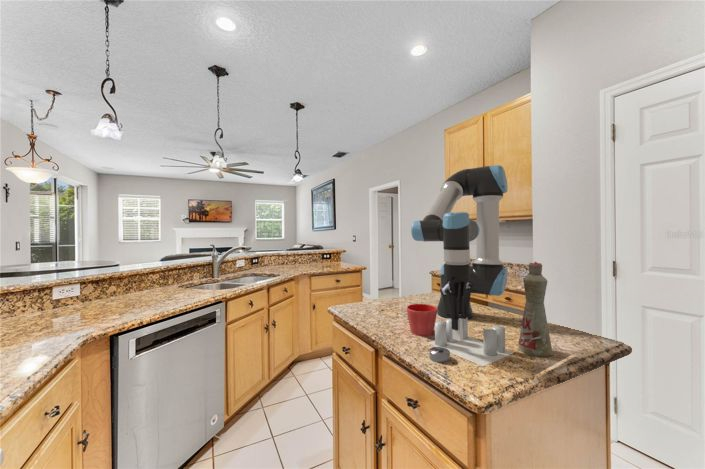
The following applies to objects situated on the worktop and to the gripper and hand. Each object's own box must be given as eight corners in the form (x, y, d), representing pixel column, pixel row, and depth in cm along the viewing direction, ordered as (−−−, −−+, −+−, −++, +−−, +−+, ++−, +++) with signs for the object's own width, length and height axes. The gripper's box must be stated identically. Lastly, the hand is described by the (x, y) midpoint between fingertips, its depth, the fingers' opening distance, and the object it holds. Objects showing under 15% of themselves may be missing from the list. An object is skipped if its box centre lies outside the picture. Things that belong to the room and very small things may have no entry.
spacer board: (458, 334, 103) (458, 313, 103) (514, 354, 86) (514, 329, 86) (427, 344, 94) (427, 321, 94) (483, 368, 77) (482, 340, 77)
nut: (437, 355, 86) (437, 345, 86) (453, 361, 82) (453, 351, 82) (425, 360, 83) (425, 350, 83) (442, 367, 79) (442, 356, 79)
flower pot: (439, 340, 98) (438, 311, 98) (406, 338, 100) (406, 310, 100) (436, 329, 108) (436, 304, 108) (407, 328, 111) (406, 303, 110)
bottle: (557, 361, 81) (556, 263, 81) (521, 357, 84) (520, 262, 84) (548, 349, 89) (547, 260, 89) (515, 345, 92) (514, 259, 92)
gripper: (459, 260, 94) (460, 331, 94) (432, 263, 87) (433, 340, 87) (480, 262, 87) (481, 338, 88) (452, 266, 80) (454, 349, 81)
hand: (457, 339), depth 88 cm, fingers closed
